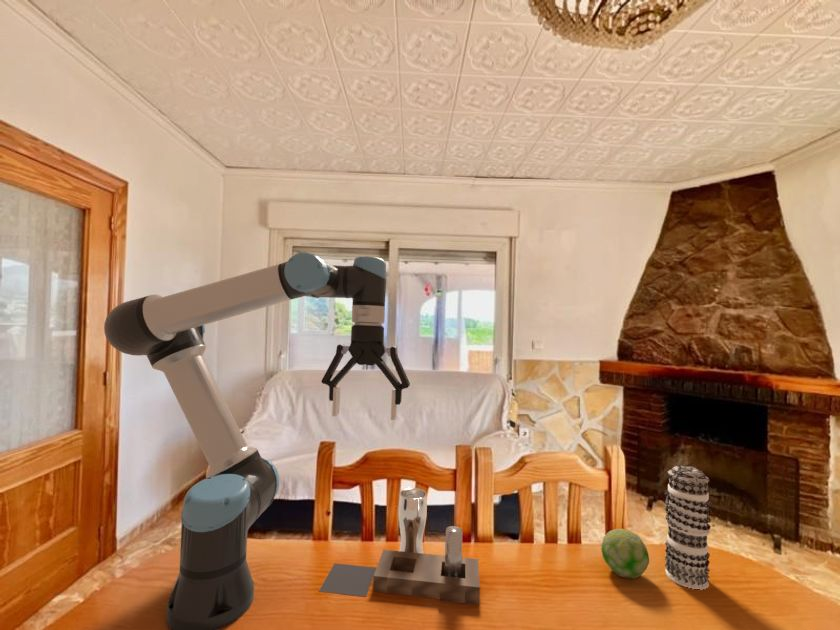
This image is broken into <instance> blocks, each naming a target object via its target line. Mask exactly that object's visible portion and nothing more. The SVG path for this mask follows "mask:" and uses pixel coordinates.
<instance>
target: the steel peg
mask: <svg viewBox="0 0 840 630" xmlns="http://www.w3.org/2000/svg"><path fill="white" fill-rule="evenodd" d="M444 543H445V545H444V546H445V551H444V556H445V574H444V576H447V577H456V578H461V564H462V558H463V557H462V555H463V529H462V528H461V527H459V526H455V525H449V526H447V527H446V529H445V542H444Z"/></svg>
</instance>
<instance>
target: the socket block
mask: <svg viewBox="0 0 840 630" xmlns="http://www.w3.org/2000/svg"><path fill="white" fill-rule="evenodd" d="M375 568H376V571H375V573H374V577H373V579H372V582H373V583H372V586H373V587H372V591H373V592H376V593H377V592H378V593H386V594H392V595H394V594H395V595H404V596H412V597H420V598H429V599H439V601H442V602H450V603H451V602H452V603H459V604H468V605H477V606H479V605H480V593H481V592H480V590H481V586H480V569H479V568H480V566H479V558H473V557H472V558H469V557H462V564H461V578H456V577H447V576H444V574H445V555H441V554H432V553H431V554H430V553H424V552H423V553H413V552H403V551H399V550H393V549H392V550H389V549H383V550H382V552H381V554H380V557H379V560H378V563H377V566H376V567H375Z"/></svg>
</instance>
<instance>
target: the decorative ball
mask: <svg viewBox="0 0 840 630" xmlns="http://www.w3.org/2000/svg"><path fill="white" fill-rule="evenodd" d="M601 541H602V542H601V547H600V549H601V553H602V558H603V560H604V562H605V563H606V565H607V566H608V568H609V569H610V570H611V571H612V572H614V573H615V574H616V575H618V576H620V577H621V578H624V579H625V578H627V579H628V578H629V579H636V578H638V577H641V576H643V573H645V571H646V570H647V568H648V566H649V564H650V556H649V552H648V551H649V550H648V548H647V547H646V545H645V543H644V541H643V540H642V538H641V537H640V536H639V535H638V534H636V533H635V532H632V531H631V530H628V529H625V528H614V529H612V530H609V531H608V532H607V533H606V534H605V536H603V538H602V540H601Z"/></svg>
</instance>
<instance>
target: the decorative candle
mask: <svg viewBox="0 0 840 630" xmlns="http://www.w3.org/2000/svg"><path fill="white" fill-rule="evenodd" d="M667 473H668V475H669V477H668V484H667V489H665V491H664V496H665V498H666V499H665V502H664V504H665V508H664V510H665V513H666V515H665V523H666V525H667V527H668V528H667V532H668V533H667V534H666V541H665V542H664V543H665V546H666V548H665V549H664V551H665V553H666V554H665V555H664V560H665V563H664V566H665V569H664V572H666V573H665V575H666V577H667V578H669V580H670V581H672V582H674V583H675V584H677V585H679V586H681V585H682V587H683V586H684V587H683V588H686V587H688V588H687V589H690V588H692V589H691V590H694V589H700V590H699V591H704V590H707V589H708V588H709V586H710V583H709V579H710V576H709V574H710V573H709V572H710V571H711V569H710V568H709V565H710V563H711V562H710V560H709V558H710V556H711V555H710V553H709V545H708V536H709V535H710V533H711V531H710V530H711V528H712V527H711V525H710V524H709V523H711V520H712V519H711V518H710V517H709V516H708V515H710V514H712V509H710V508H711V507H712V506H713V504H712V502H711V501H709V499H710V498H709V497H710V493H709V490H708V489H709V484H708V483H709V482H710V479H709V477H708V476H706V475H705V473H704V472H703V471H702V470H700V469H699V468H696V467H693V466H690V465H689V466H688V465H675V466H673V467H672V468H671V469H669V470H668V471H667ZM706 588H707V589H706ZM703 589H704V590H703Z"/></svg>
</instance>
